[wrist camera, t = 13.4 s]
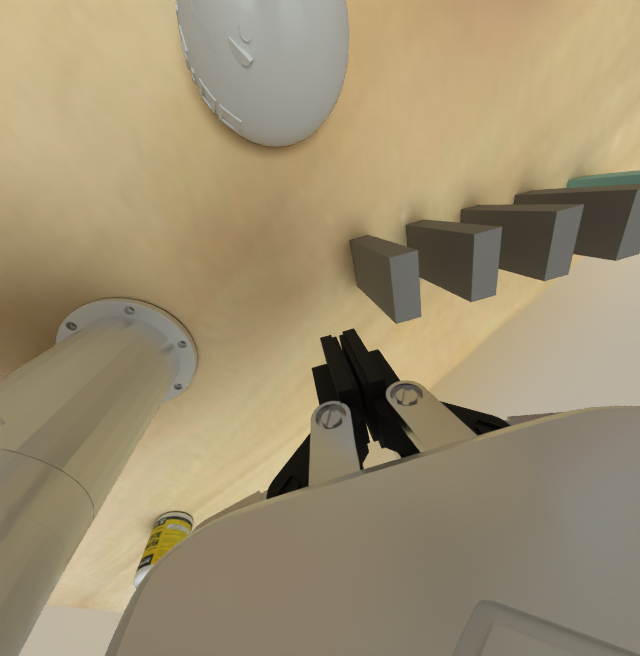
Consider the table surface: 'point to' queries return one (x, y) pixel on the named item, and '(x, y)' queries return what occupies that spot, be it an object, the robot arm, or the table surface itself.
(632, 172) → the domino
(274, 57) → the grey teardrop lump
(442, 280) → the domino
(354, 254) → the domino
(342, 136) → the table surface
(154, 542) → the supplement bottle
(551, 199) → the domino
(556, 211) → the domino
